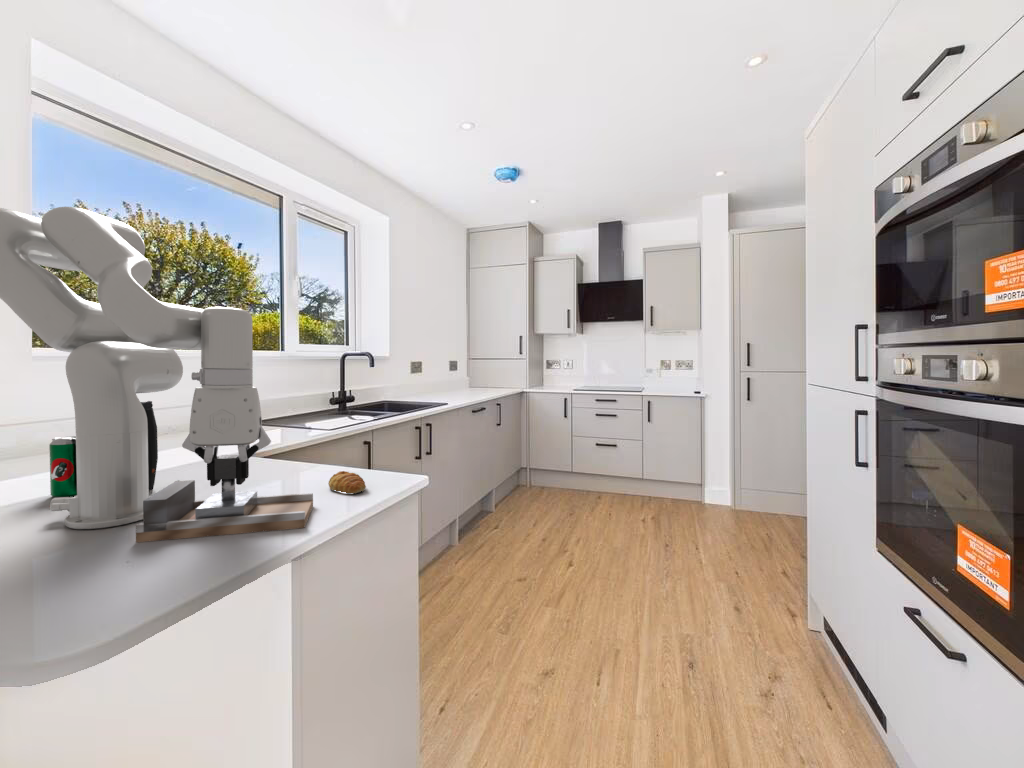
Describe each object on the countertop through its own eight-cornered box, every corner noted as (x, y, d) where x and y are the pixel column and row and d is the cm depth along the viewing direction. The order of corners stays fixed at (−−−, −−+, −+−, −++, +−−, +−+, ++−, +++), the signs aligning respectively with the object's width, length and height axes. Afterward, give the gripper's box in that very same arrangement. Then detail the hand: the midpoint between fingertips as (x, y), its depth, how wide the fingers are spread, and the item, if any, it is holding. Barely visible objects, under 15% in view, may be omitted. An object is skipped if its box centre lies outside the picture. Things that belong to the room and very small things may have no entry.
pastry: (373, 492, 99) (373, 475, 98) (345, 498, 94) (345, 481, 93) (352, 484, 105) (352, 468, 105) (324, 490, 100) (324, 473, 100)
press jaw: (195, 523, 72) (194, 463, 72) (214, 506, 81) (214, 452, 80) (243, 519, 74) (243, 461, 74) (257, 503, 83) (257, 450, 83)
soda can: (88, 494, 92) (87, 437, 92) (54, 500, 88) (53, 440, 87) (81, 490, 95) (79, 435, 94) (47, 496, 90) (46, 438, 90)
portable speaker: (167, 488, 98) (166, 400, 97) (123, 500, 88) (122, 404, 88) (135, 485, 99) (134, 399, 98) (88, 497, 90) (87, 402, 89)
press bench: (136, 542, 69) (135, 501, 68) (169, 516, 80) (168, 481, 80) (304, 527, 76) (304, 490, 76) (313, 506, 87) (313, 474, 87)
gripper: (161, 379, 70) (162, 492, 71) (275, 380, 76) (276, 486, 76) (180, 378, 78) (181, 480, 78) (284, 379, 83) (284, 475, 83)
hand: (228, 482), depth 77 cm, fingers closed on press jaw, 3 cm apart
